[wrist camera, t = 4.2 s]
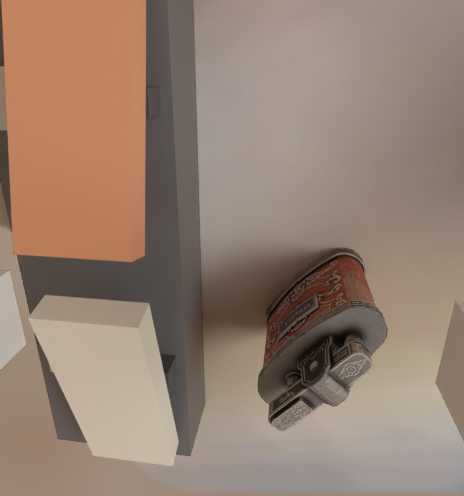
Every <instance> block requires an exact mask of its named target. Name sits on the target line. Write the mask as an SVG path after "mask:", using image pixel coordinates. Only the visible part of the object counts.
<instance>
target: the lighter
mask: <svg viewBox="0 0 464 496" xmlns="http://www.w3.org/2000/svg"><path fill="white" fill-rule="evenodd" d="M365 274H366V269H365V266H364V264H363V261H362V258H361V257H360V256H359V255H358V254H357V253H356V252H354V251H353V250H351V249H347V248H338V249H335V250H333V251H331V252H329V253H328V254H326V255H324V256H323V257H321V258H319V259H318V260H316V261H315V262H313V263H312V264H310V265H309V266H308V267H307V268H305V269H304V270H303V271H302V272H300V273H299V274H298V275H296V276H295V277H294V278H293V279H292V280H291V281H290V282H289V283H288V284H287V286H286V287H285V288H284V289H283V290H282V291H281V292H280V293H279V294H278V296H277V297H276V298H275V300H274V301H273V302H272V304H271V305H270V307H269V308H268V310H267V313H266V325H267V337H266V346H265V355H264V364H263V369H262V370H261V372H260V374H259V378H258V392H259V394H260V396H261V398H262V399H263V400H264V401H265V402H266V403H268V404H270V405H269V415H268V421H269V423H270V424H271V425H272V426H273V427H275V428H276V429H277V430H279V431H281V432H282V431H285V430H287V429H289V428H290V427H292V426H293V425H295V424H296V423H297V422H299V421H300V420H302V419H303V418H304V417H306V416H307V415H309V414H310V413H311V412H313V411H314V410H316V409H317V408H319V407H320V406H321V405H323V404H324V403H326V404H329V405H331V406H337V405H339V404H340V403H341V402H343V401H344V400H345V399H346V398H347V396H348V394H349V391H350V389H351V387H352V385H353V383H354V382H355V381H357V380H358V379H359V378H361V377H362V376H364V375H365V374H367V373H368V372H369V371H370V370H371V369H372V367H373V363H372V359H371V355H372V354H373V353H374V352H375V351H376V350H377V349H378V348H379V347H380V345H381V344H382V343H383V342H384V340H385V339H386V337H387V330H388V329H387V326H386V323H385V320H384V317H383V315H382V313H381V312H380V310H379V309H378V308H377V307H376V306H375V303H374V300H373V298H372V295H371V292H370V289H369V286H368V284H367V281H366V278H365Z"/></svg>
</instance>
